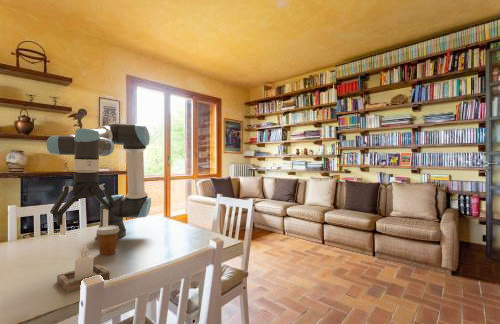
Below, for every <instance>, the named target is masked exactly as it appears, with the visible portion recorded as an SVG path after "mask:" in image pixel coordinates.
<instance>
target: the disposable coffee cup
mask: <svg viewBox="0 0 500 324" xmlns="http://www.w3.org/2000/svg"><path fill="white" fill-rule="evenodd" d="M119 230H120V229H119V227H118V226H115V225H110V226H108V227H104V226H102V227H99V226H98V227H97V230H96V233H97V234H98V238H97V242H98V247H99V255H100V256H111V255H113V254H115V253H116V249H117V244H118V243H117V242H118V238H117V237H118V232H119Z"/></svg>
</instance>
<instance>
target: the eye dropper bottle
mask: <svg viewBox="0 0 500 324" xmlns="http://www.w3.org/2000/svg"><path fill="white" fill-rule="evenodd" d="M89 253H90V250H89V248H87V245H83V248H82V249H80V255H79V256H78V257H76V258H75V260H74V270H75V281H76V280H80V279H83V278H86V277H89V276H93V265H94V256H93V255H91V254H89Z"/></svg>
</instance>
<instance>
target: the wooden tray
mask: <svg viewBox="0 0 500 324" xmlns="http://www.w3.org/2000/svg"><path fill="white" fill-rule="evenodd" d="M110 273H111V272H110V270H107V269H106V268H104V267H103V266H101V265H99V264H98V263H96V264H93V276H95V275H101V276H102V277H103V279H104V281H107V280H110ZM56 277H57V279H56V283H58V284H59V286H60V287H61V288H62V289H63V290H64V291H65V292H66V293H70V292H73V291H76V290H80V289H81V288H80V285H81V281H82V280H83V279H85V278H83V279H80V280H76V281H75V269H74V270H71V271H67V272H64V273H59V274H58V275H57V276H56ZM89 277H92V276H89ZM89 277H86V278H89Z"/></svg>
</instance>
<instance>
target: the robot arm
mask: <svg viewBox="0 0 500 324" xmlns="http://www.w3.org/2000/svg"><path fill="white" fill-rule="evenodd" d="M149 144H150V133H149V129H148V127H147V126H146V125H144V124H139V123H117V122H116V123H108V124H104V125H100V126H97V127H96V128H84V127H83V128H77V129H75V131H74V133H72V134H67V135H51V136H49V137H48V139H47V140H46V144H45V145H46V149H47V152H49V154H52V155H58V156H74V158H73V159H74V161H73V171H75V172H74V173H73V185H72V186H69V185H63V186H62V188H61V193H60V194H59V196H58V197H57V199H56V201H55V202H54V204H53V206H52V208H51V209H50V211H49V213H50V214H51V215H55V216H56V224H57V225H58V226H59V227H60V228H59V233H60V235H61V236H64V235H66V216H67V215H66V214H65V213H66V212H67V211H68V210H69V209H70V208H71V206H72V205H73V204H74V203H76V201H77V200H79V199H80V198H81V199H84V198H93V197H94V198H95V199H96V200H97V201H98V202H99V203H100V205H99V206H100V216H99V220H100V221H99V225H98V228H99V227H102V226H104V227H108V226H110V225H115V226H118V227H119V229H120V230H119V232H118V237H117V239H119V238H122V237H125V236H127V230H126V226H125V223H124V218H128V219H129V218H130V219H131V218H133V219H136V218H137V219H139V218H146V217H148V215H149V213H150V210H151V206H152V198H151V197H150V196H148V193H147V192H146V191H145V165H144V151H145V150H146V149H147V146H149ZM115 145H120V146H121V145H122V149H123V150H124V151H126V168H127V169H126V170H127V173H126V174H127V191H128V192H127V194H126V195H124V194H114V195H111V193H110V191H109V188H108V187H109V185H108V184H107V183H102V184H100V183H99V175H100V174H99V173H100V172H98V171H99V169H100V166H99V165H100V163H99V162H100V157H106V156H110V155H111V154H113V152H114V150H115ZM99 189H100V190H101V191H102V193H103V194H104V197H102V196H101V194H99V193H98V191H99ZM71 191H73V192H74V193H73V194H72V195H71V196H70V198H69V199H68V200H67V201H65V199H66V198H67V196H68V194H69V193H70V192H71ZM64 201H65V203H64ZM63 203H64V204H63ZM95 235H96V236H95V238H96V239H98V234H97V232H96V233H95Z"/></svg>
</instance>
